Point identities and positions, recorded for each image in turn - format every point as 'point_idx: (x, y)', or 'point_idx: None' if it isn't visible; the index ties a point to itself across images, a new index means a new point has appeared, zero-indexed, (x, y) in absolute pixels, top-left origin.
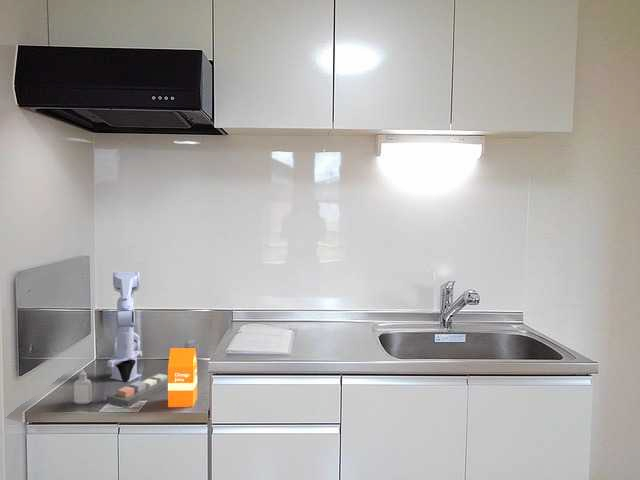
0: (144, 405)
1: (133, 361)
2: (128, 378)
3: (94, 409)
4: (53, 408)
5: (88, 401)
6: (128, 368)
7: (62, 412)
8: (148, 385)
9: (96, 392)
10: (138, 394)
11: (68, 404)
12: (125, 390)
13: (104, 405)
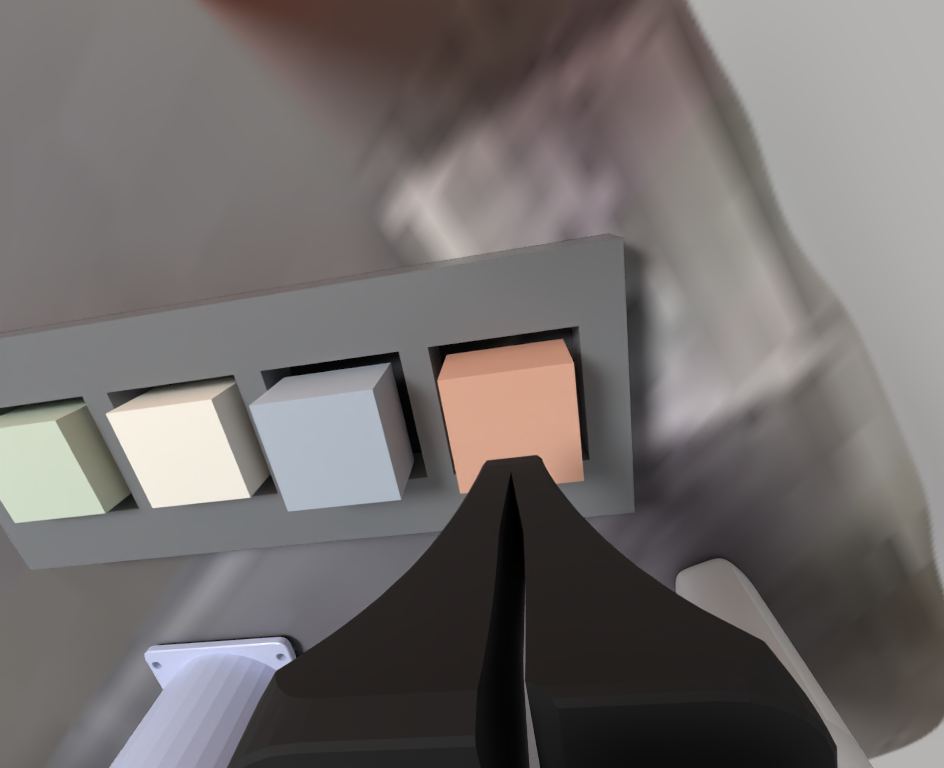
0: (497, 101)
1: (355, 760)
2: (505, 470)
3: (795, 431)
4: (890, 662)
5: (730, 567)
6: (561, 589)
7: (934, 571)
8: (229, 406)
9: None
10: (435, 295)
11: (793, 642)
12: (543, 401)
13: (691, 433)
